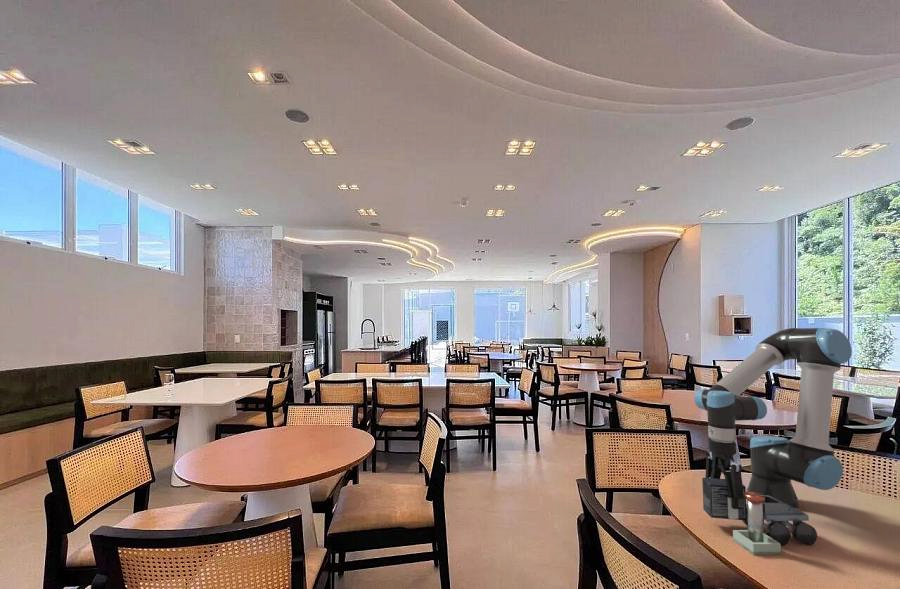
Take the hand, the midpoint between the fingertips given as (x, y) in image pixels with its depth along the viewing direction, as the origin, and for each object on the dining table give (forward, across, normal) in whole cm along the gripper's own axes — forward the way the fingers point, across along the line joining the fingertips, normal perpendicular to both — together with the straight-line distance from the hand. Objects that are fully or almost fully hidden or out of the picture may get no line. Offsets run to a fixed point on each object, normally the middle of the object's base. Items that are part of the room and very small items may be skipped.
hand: (724, 512), depth 132 cm
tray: (+5, +12, +1) cm, 13 cm away
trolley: (+5, +5, +13) cm, 15 cm away
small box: (+1, 0, 0) cm, 1 cm away
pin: (+4, +12, +1) cm, 12 cm away
